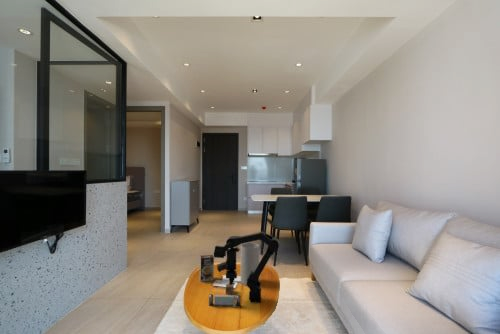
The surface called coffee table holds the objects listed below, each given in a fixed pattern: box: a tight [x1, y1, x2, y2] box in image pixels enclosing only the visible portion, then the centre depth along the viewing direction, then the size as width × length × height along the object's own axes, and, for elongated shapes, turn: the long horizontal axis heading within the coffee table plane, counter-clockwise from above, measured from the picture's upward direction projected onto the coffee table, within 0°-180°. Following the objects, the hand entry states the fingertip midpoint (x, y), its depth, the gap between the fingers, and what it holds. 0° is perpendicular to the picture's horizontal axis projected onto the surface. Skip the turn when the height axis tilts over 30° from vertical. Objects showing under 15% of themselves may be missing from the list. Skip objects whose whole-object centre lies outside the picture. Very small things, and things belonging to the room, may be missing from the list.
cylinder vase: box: [240, 242, 260, 286], centre depth 188 cm, size 12×12×25 cm
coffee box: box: [199, 254, 215, 283], centre depth 191 cm, size 9×6×16 cm
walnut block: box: [225, 283, 235, 295], centre depth 172 cm, size 4×4×4 cm
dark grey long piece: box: [208, 293, 242, 309], centre depth 155 cm, size 18×4×6 cm, turn 88°
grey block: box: [213, 294, 237, 305], centre depth 156 cm, size 12×2×5 cm, turn 88°
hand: (231, 284), depth 165 cm, fingers closed
